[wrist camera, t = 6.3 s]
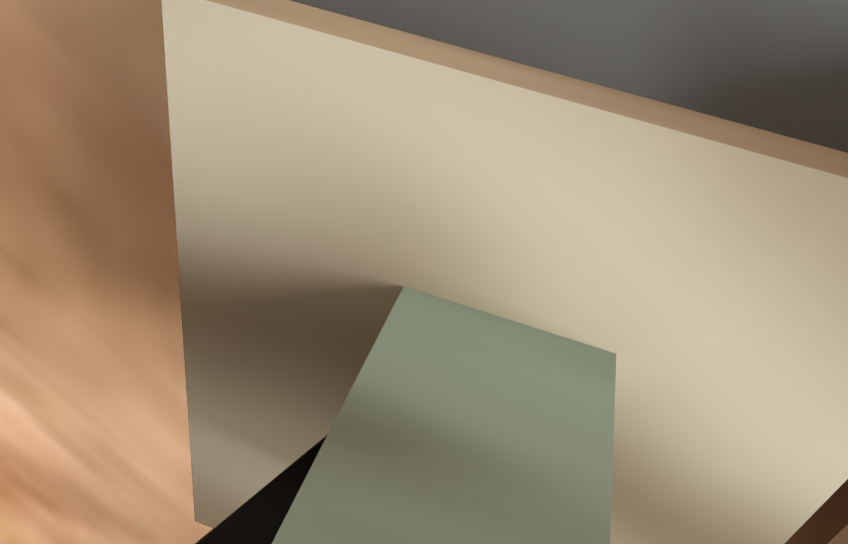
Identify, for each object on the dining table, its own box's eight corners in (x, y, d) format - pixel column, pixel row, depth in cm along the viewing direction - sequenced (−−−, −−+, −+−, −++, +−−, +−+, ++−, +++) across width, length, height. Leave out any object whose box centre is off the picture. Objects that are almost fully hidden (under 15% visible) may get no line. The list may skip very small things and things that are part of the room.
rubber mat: (632, 493, 19) (632, 510, 18) (255, 364, 20) (246, 377, 19) (957, -10, 10) (972, -3, 10) (270, -174, 12) (254, -175, 11)
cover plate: (641, 649, 14) (645, 1017, 9) (214, 491, 15) (44, 756, 10) (1037, 205, 7) (1680, 788, 3) (198, -25, 8) (-294, 131, 4)
